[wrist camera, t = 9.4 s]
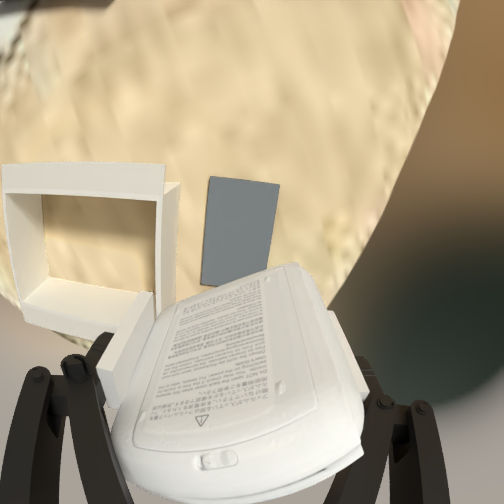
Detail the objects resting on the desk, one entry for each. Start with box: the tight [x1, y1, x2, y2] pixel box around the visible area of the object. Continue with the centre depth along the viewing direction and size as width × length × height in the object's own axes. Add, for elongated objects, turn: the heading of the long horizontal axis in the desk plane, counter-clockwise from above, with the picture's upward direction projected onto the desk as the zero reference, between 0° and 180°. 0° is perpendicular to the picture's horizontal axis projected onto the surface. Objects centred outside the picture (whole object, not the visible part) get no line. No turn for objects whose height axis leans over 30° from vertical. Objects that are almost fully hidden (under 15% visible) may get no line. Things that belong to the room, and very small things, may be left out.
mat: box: [201, 176, 280, 286], centre depth 31 cm, size 7×12×1 cm, turn 172°
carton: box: [2, 162, 181, 341], centre depth 27 cm, size 19×19×7 cm
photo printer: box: [110, 263, 364, 504], centre depth 12 cm, size 10×4×12 cm, turn 112°
